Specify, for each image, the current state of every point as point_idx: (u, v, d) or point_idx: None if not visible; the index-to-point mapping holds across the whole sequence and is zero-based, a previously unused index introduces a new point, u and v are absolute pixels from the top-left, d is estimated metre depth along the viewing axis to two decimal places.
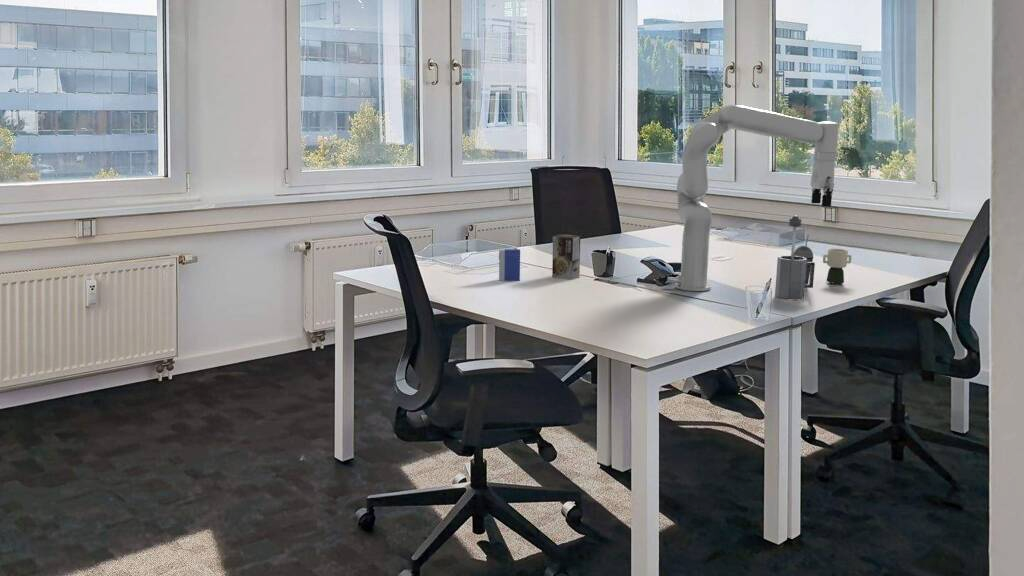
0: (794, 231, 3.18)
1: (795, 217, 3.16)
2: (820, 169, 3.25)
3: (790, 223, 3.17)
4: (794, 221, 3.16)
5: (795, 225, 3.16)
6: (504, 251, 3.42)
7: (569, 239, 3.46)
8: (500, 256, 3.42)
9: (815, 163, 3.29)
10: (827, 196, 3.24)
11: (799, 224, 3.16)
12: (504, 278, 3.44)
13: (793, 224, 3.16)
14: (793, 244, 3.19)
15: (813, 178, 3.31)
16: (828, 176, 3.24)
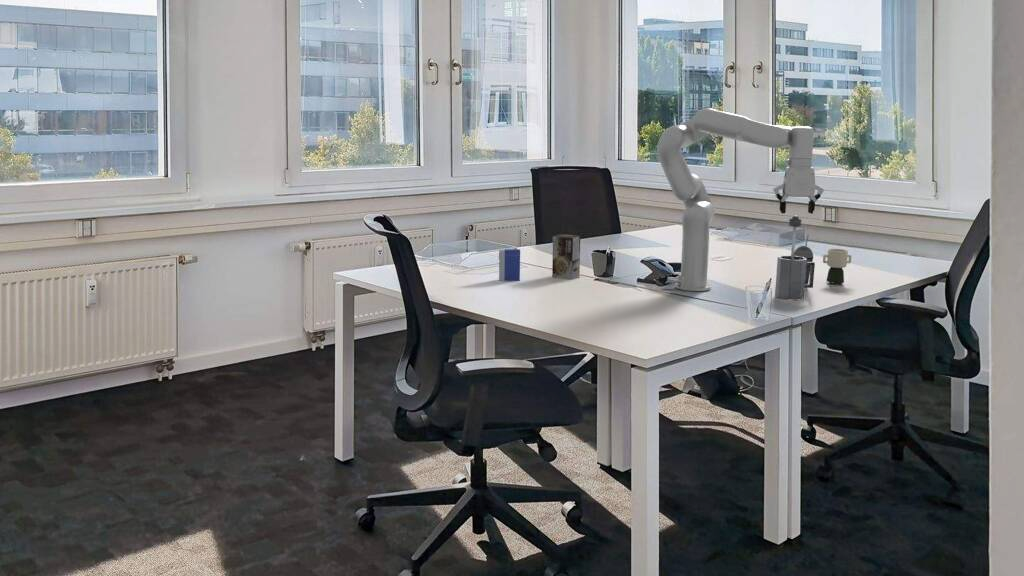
0: (794, 231, 3.18)
1: (795, 217, 3.16)
2: (812, 176, 3.12)
3: (790, 223, 3.17)
4: (794, 221, 3.16)
5: (795, 225, 3.16)
6: (504, 251, 3.42)
7: (569, 239, 3.46)
8: (500, 256, 3.42)
9: (797, 170, 3.11)
10: None
11: (799, 224, 3.16)
12: (504, 278, 3.44)
13: (793, 224, 3.16)
14: (793, 244, 3.19)
15: (795, 186, 3.12)
16: None
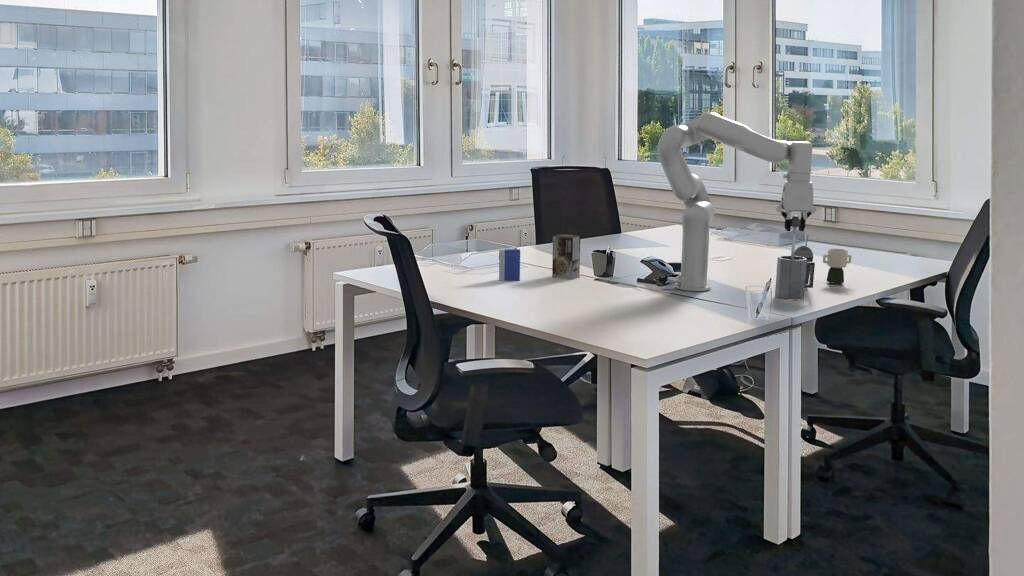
0: (794, 231, 3.18)
1: (795, 217, 3.16)
2: (810, 190, 3.13)
3: None
4: (794, 221, 3.16)
5: (795, 225, 3.16)
6: (504, 251, 3.42)
7: (569, 239, 3.46)
8: (500, 256, 3.42)
9: (796, 185, 3.12)
10: None
11: (799, 224, 3.16)
12: (504, 278, 3.44)
13: (793, 224, 3.16)
14: (793, 244, 3.19)
15: (793, 201, 3.13)
16: None
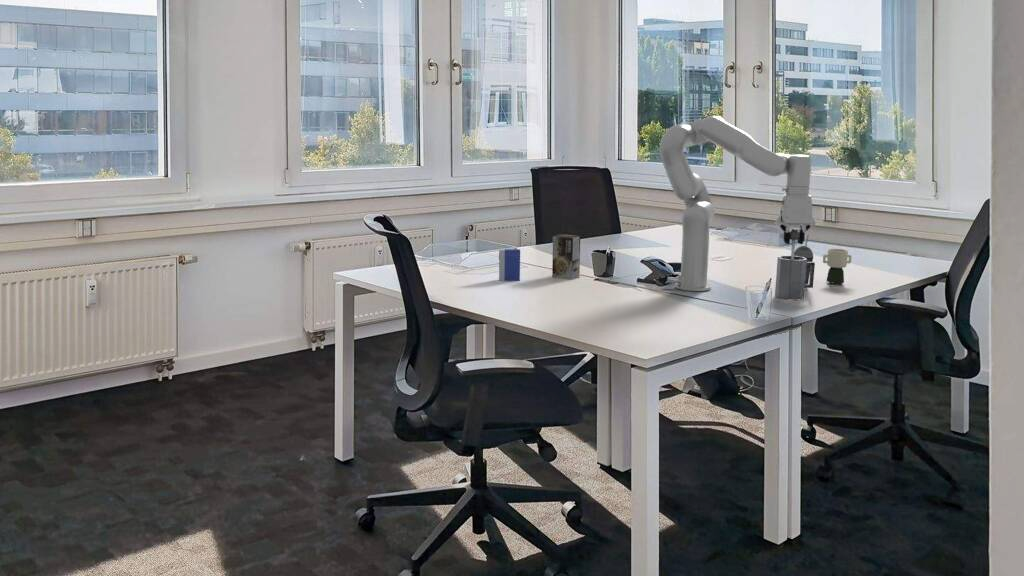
0: (793, 244, 3.19)
1: (794, 230, 3.17)
2: (809, 203, 3.14)
3: None
4: (793, 234, 3.17)
5: (794, 238, 3.17)
6: (504, 251, 3.42)
7: (569, 239, 3.46)
8: (500, 256, 3.42)
9: (794, 198, 3.13)
10: None
11: (798, 237, 3.17)
12: (504, 278, 3.44)
13: (792, 237, 3.17)
14: (792, 257, 3.20)
15: (792, 214, 3.14)
16: None
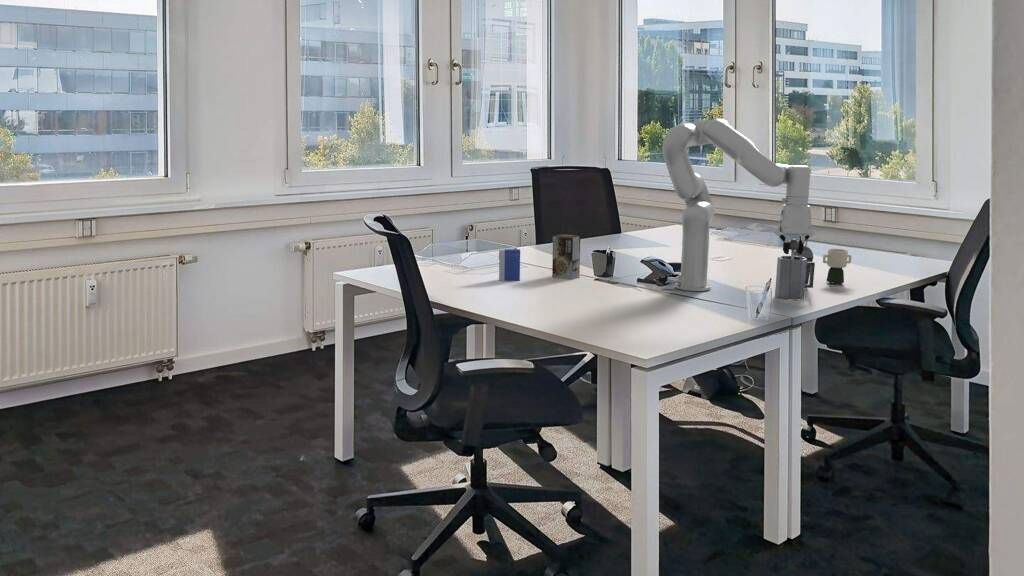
0: (792, 254, 3.19)
1: (793, 240, 3.18)
2: (808, 214, 3.15)
3: None
4: (792, 244, 3.17)
5: (793, 248, 3.18)
6: (504, 251, 3.42)
7: (569, 239, 3.46)
8: (500, 256, 3.42)
9: (794, 209, 3.14)
10: None
11: (797, 247, 3.18)
12: (504, 278, 3.44)
13: (791, 247, 3.18)
14: None
15: (791, 224, 3.15)
16: None
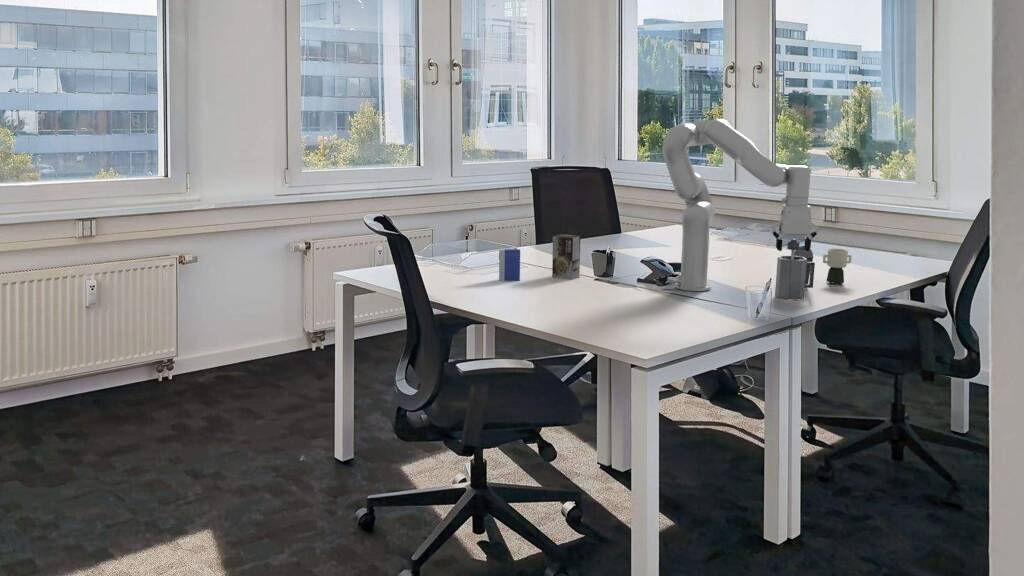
0: (792, 254, 3.19)
1: (793, 240, 3.18)
2: (808, 214, 3.15)
3: (788, 246, 3.19)
4: (792, 244, 3.17)
5: (793, 248, 3.17)
6: (504, 251, 3.42)
7: (569, 239, 3.46)
8: (500, 256, 3.42)
9: (794, 209, 3.14)
10: None
11: (797, 247, 3.18)
12: (504, 278, 3.44)
13: (791, 247, 3.18)
14: None
15: (791, 225, 3.15)
16: None
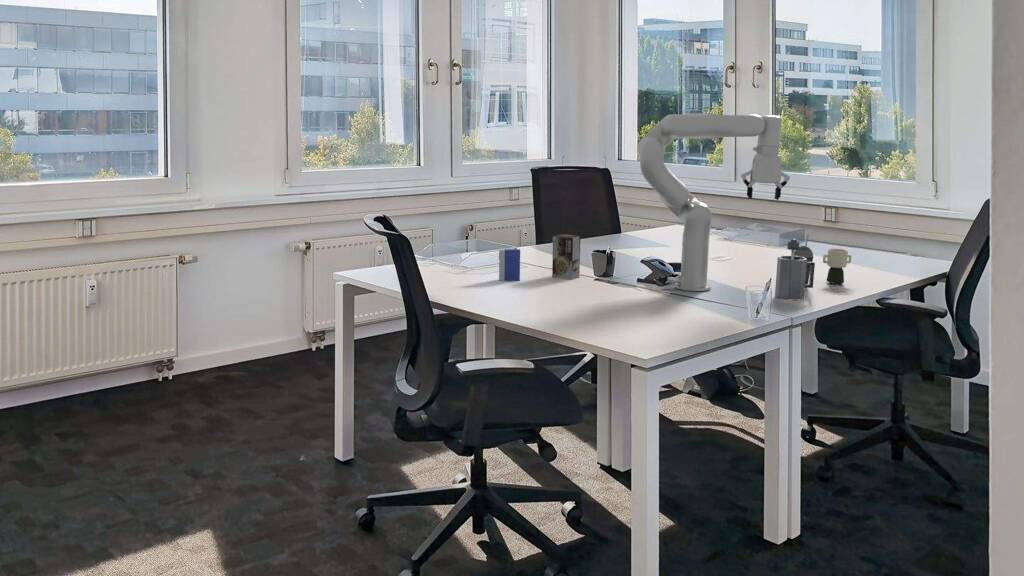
0: (792, 254, 3.19)
1: (793, 240, 3.18)
2: (778, 163, 3.25)
3: (788, 246, 3.19)
4: (792, 244, 3.17)
5: (793, 248, 3.17)
6: (504, 251, 3.42)
7: (569, 239, 3.46)
8: (500, 256, 3.42)
9: (764, 158, 3.24)
10: None
11: (797, 247, 3.18)
12: (504, 278, 3.44)
13: (791, 247, 3.18)
14: None
15: (761, 173, 3.25)
16: None
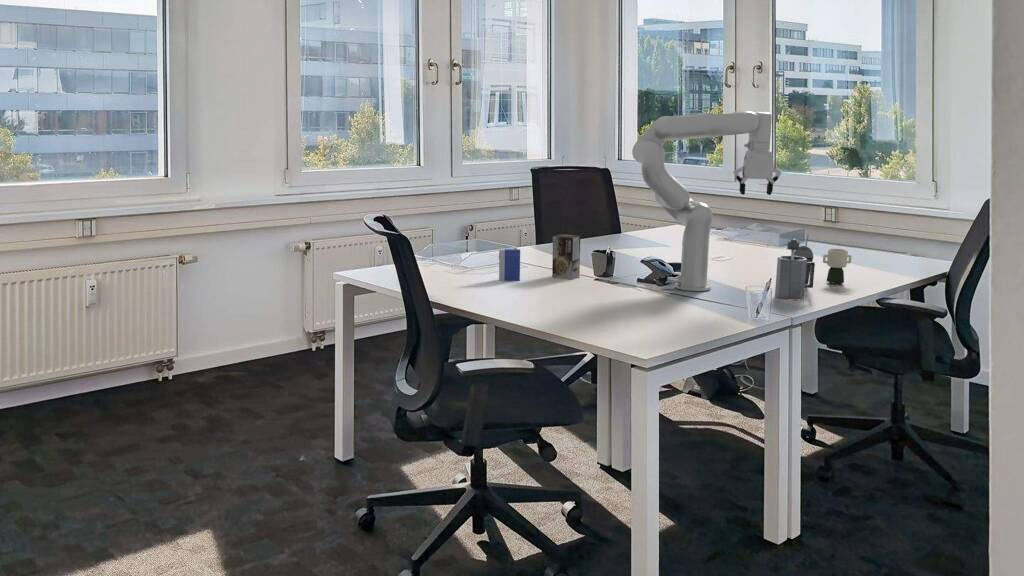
0: (792, 254, 3.19)
1: (793, 240, 3.18)
2: (769, 159, 3.28)
3: (788, 246, 3.19)
4: (792, 244, 3.17)
5: (793, 248, 3.17)
6: (504, 251, 3.42)
7: (569, 239, 3.46)
8: (500, 256, 3.42)
9: (756, 154, 3.28)
10: None
11: (797, 247, 3.18)
12: (504, 278, 3.44)
13: (791, 247, 3.18)
14: None
15: (754, 169, 3.29)
16: None
